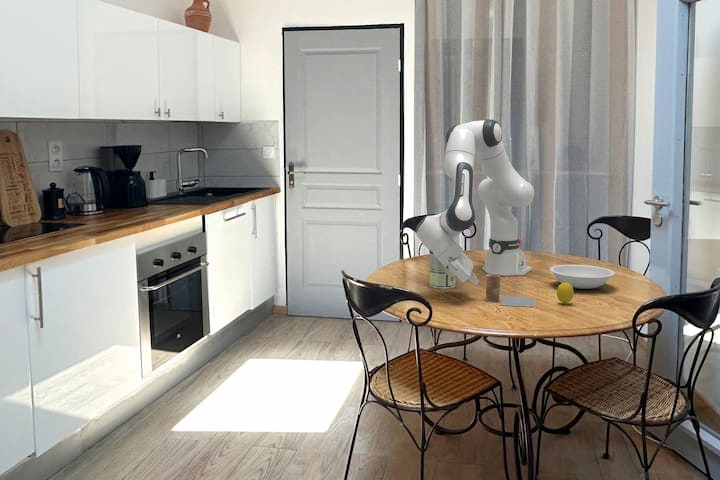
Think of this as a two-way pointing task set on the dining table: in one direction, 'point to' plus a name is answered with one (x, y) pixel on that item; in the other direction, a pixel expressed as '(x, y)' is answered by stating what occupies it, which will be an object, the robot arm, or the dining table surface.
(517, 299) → the grey mat
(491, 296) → the walnut block
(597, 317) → the dining table surface
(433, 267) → the coffee can
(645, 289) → the dining table surface
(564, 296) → the lemon
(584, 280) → the soup bowl
